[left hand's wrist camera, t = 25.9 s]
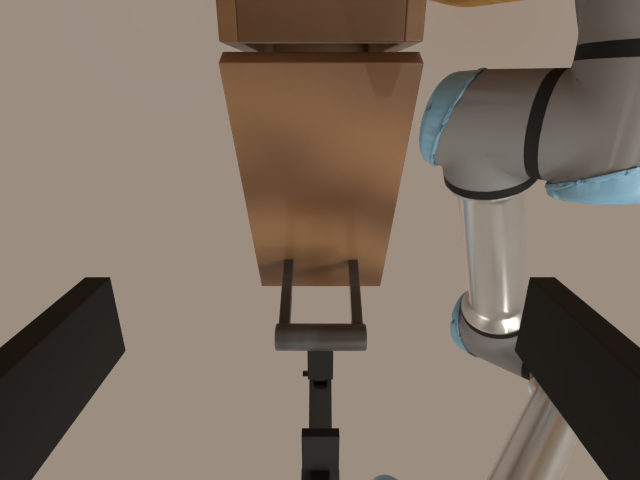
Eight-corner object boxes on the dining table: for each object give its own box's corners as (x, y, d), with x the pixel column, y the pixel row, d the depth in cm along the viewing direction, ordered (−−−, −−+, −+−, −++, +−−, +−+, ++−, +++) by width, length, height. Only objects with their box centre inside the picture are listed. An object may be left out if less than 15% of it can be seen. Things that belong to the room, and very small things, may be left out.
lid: (378, 274, 33) (389, 370, 28) (263, 274, 33) (251, 369, 28) (419, 51, 19) (457, 155, 14) (222, 51, 19) (184, 155, 14)
